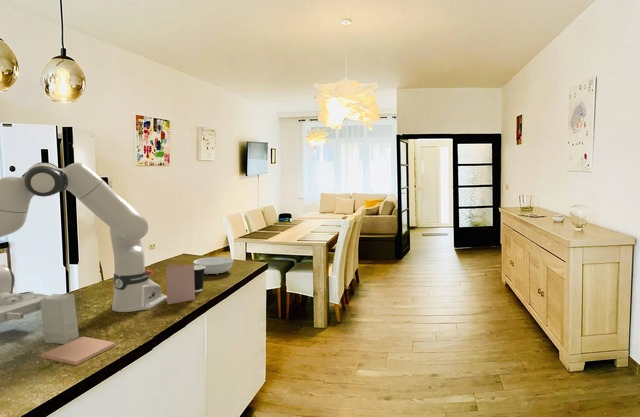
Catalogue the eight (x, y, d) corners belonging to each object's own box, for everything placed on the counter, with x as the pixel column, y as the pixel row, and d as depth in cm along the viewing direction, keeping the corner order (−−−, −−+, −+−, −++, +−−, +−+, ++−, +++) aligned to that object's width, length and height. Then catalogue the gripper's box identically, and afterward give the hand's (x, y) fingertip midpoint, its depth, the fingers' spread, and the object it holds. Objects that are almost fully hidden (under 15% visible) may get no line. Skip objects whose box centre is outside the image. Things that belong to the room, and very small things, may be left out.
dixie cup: (209, 290, 191) (208, 267, 190) (193, 294, 185) (192, 270, 184) (200, 287, 196) (199, 264, 195) (184, 290, 191) (184, 267, 190)
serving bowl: (239, 269, 232) (239, 257, 231) (222, 279, 211) (222, 265, 211) (205, 267, 236) (205, 255, 236) (186, 276, 216) (185, 263, 215)
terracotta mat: (82, 339, 136) (82, 336, 136) (115, 345, 131) (115, 342, 131) (41, 357, 123) (41, 354, 123) (76, 365, 118) (76, 361, 118)
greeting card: (195, 299, 178) (194, 264, 177) (189, 304, 171) (188, 269, 169) (169, 298, 178) (168, 264, 177) (162, 304, 171) (161, 268, 170)
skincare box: (79, 337, 137) (76, 294, 136) (64, 345, 131) (62, 299, 130) (57, 335, 139) (54, 292, 137) (42, 343, 133) (39, 298, 131)
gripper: (-28, 307, 133) (2, 312, 128) (35, 290, 152) (63, 293, 147) (-26, 326, 133) (3, 332, 129) (36, 306, 153) (64, 311, 148)
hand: (35, 311), depth 138 cm, fingers open, 8 cm apart
